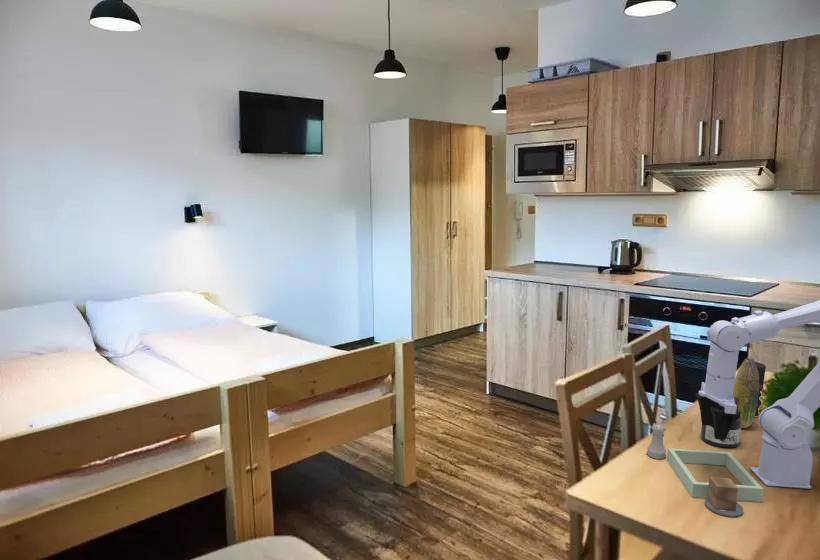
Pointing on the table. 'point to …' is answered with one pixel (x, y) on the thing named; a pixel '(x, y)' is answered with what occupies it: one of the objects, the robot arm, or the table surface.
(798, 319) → the robot arm
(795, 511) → the table surface
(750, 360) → the vegetable
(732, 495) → the block
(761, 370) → the deodorant
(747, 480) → the green rectangular frame
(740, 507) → the coaster
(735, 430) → the ink bottle
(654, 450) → the rook chess piece
